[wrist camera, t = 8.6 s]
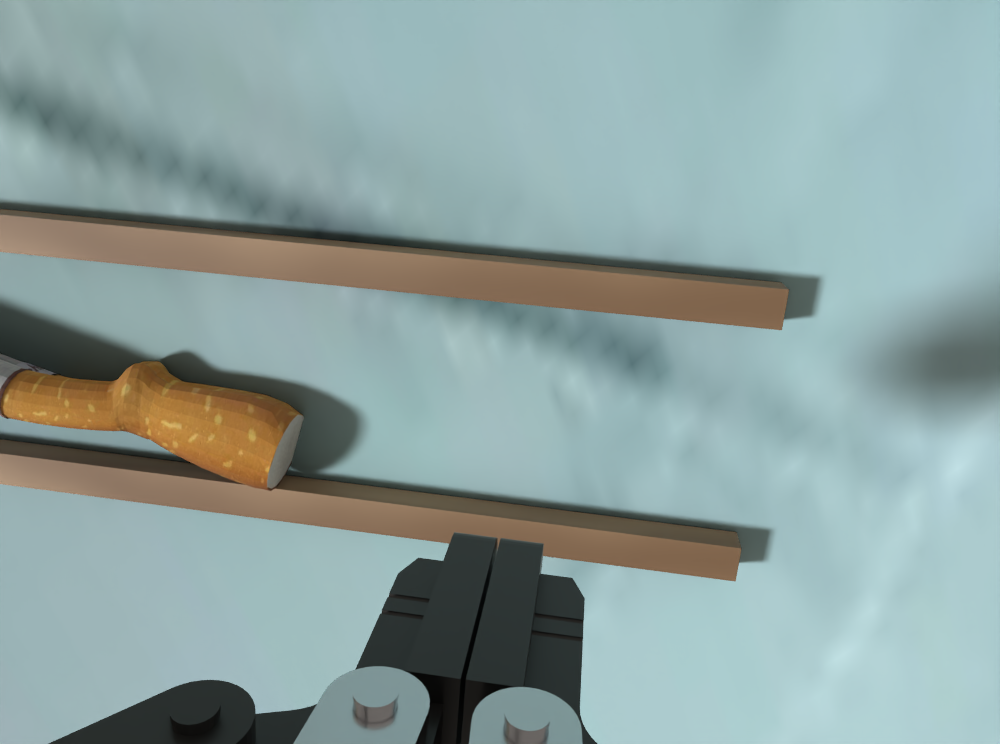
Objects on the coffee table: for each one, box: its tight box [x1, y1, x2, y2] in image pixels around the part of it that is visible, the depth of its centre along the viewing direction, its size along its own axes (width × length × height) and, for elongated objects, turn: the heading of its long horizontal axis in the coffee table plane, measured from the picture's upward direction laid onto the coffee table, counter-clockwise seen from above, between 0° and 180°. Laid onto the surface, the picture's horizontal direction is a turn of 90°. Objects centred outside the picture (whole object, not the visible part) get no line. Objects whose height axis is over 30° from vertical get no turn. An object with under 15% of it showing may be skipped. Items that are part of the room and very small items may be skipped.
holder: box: [0, 209, 789, 581], centre depth 21 cm, size 8×35×5 cm, turn 86°
